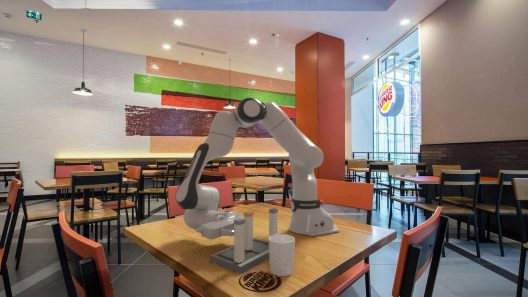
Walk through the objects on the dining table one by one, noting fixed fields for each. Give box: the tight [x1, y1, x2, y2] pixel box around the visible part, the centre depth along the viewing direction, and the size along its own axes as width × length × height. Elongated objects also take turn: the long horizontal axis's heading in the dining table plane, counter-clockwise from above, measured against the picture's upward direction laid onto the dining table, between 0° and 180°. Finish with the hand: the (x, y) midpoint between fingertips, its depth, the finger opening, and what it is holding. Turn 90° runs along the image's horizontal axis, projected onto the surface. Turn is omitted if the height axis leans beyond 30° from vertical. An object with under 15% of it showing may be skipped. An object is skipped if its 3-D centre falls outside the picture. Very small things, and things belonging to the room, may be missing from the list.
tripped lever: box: [243, 210, 255, 251], centre depth 89 cm, size 2×3×13 cm
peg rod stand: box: [209, 207, 279, 275], centre depth 89 cm, size 14×22×15 cm, turn 143°
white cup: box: [268, 233, 296, 277], centre depth 78 cm, size 8×8×10 cm
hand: (242, 230), depth 91 cm, fingers open, 8 cm apart
